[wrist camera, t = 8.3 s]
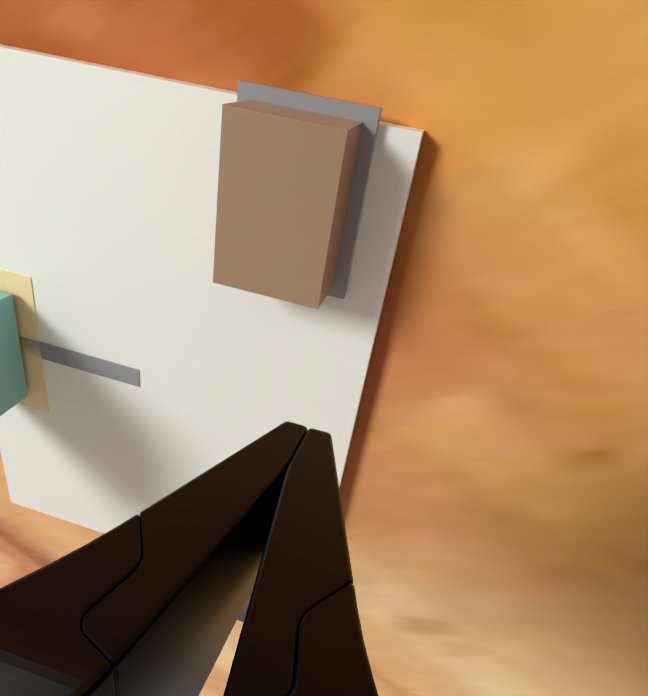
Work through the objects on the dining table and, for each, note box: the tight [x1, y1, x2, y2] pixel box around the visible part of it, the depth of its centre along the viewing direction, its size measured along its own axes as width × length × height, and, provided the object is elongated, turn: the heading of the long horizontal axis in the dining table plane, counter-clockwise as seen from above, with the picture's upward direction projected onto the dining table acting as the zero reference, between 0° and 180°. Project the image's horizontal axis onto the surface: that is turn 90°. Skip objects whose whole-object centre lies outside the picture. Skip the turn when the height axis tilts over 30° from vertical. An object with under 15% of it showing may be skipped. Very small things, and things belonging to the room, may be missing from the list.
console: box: [0, 44, 424, 622], centre depth 25 cm, size 20×27×4 cm
